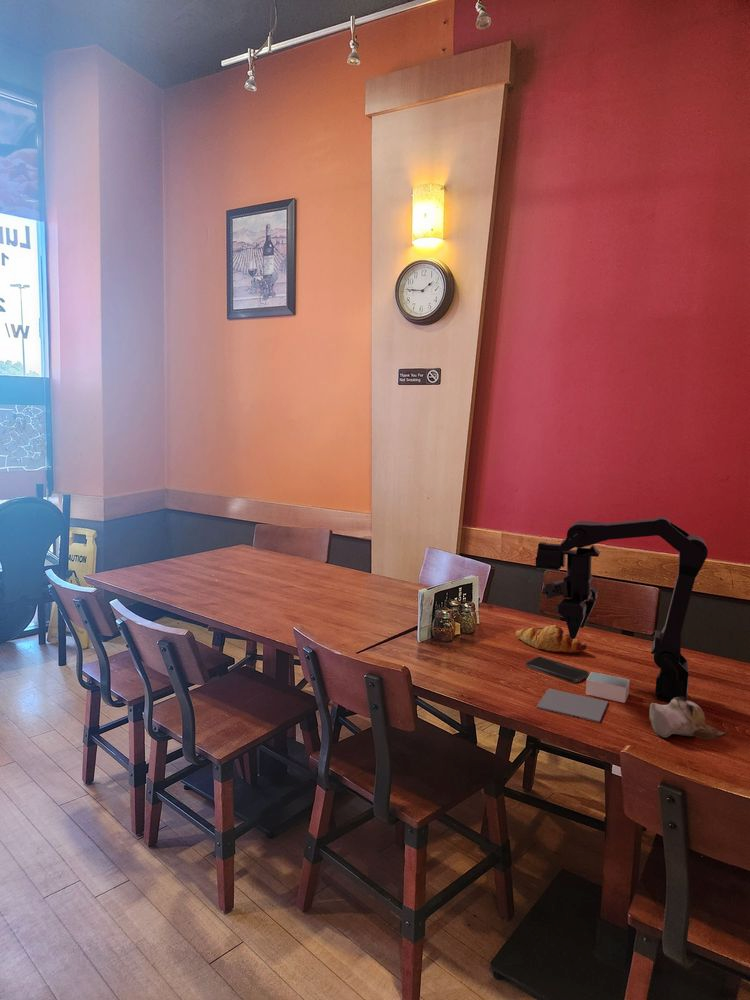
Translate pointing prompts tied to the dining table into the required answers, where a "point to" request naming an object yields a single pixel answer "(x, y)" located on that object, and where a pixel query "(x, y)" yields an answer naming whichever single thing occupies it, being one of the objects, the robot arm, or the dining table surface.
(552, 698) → the mat
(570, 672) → the phone
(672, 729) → the ceramic sculpture
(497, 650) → the dining table surface
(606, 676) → the card box
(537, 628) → the croissant
